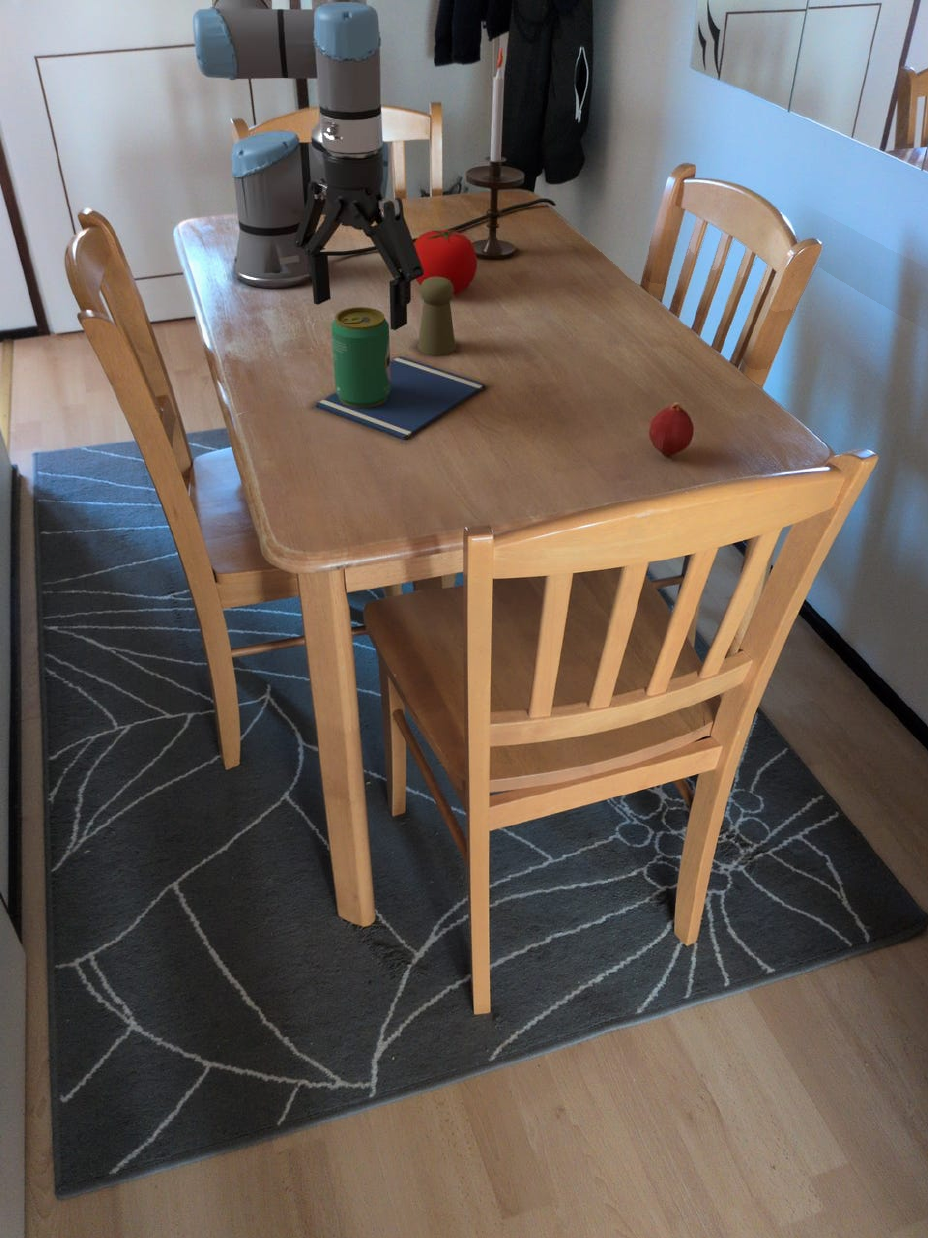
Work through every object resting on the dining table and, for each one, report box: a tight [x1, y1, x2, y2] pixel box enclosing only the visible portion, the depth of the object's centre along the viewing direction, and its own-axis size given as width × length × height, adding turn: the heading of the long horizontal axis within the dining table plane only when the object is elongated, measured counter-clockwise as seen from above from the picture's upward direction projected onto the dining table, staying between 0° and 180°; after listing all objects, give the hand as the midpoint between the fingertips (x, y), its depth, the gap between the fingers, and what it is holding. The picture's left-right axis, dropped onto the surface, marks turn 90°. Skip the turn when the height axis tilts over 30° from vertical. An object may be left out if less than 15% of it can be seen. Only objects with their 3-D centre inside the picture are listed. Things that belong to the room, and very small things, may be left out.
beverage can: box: [330, 306, 391, 408], centre depth 141 cm, size 8×8×12 cm
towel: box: [315, 355, 486, 441], centre depth 146 cm, size 20×16×1 cm
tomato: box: [414, 229, 478, 296], centre depth 175 cm, size 12×12×10 cm
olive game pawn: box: [417, 277, 456, 356], centre depth 156 cm, size 6×6×11 cm
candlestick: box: [465, 47, 525, 261], centre depth 183 cm, size 11×11×35 cm
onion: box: [648, 401, 695, 458], centre depth 132 cm, size 6×6×8 cm
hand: (359, 313), depth 137 cm, fingers open, 13 cm apart
